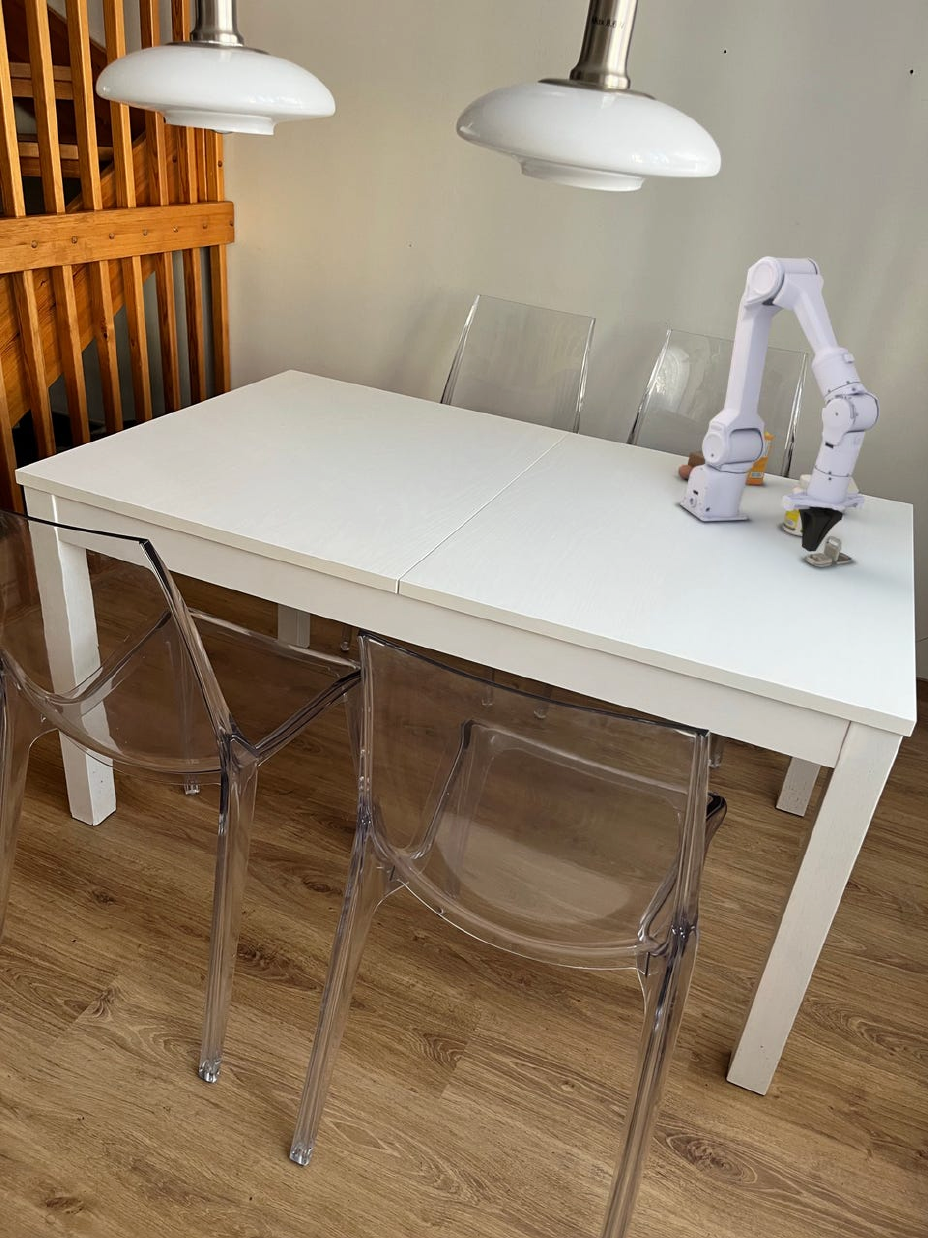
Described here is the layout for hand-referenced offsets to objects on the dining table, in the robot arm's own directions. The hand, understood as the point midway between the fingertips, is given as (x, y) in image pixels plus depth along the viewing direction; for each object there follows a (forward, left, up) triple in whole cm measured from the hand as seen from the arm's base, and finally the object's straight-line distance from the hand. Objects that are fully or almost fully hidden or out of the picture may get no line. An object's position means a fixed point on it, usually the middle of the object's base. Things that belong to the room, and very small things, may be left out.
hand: (808, 548), depth 158 cm
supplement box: (+13, +35, -3) cm, 38 cm away
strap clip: (+5, 0, -3) cm, 5 cm away
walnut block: (+3, +37, -2) cm, 37 cm away
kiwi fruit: (+1, +38, -2) cm, 38 cm away
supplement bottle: (+7, +12, -3) cm, 14 cm away
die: (+20, +21, -3) cm, 29 cm away
